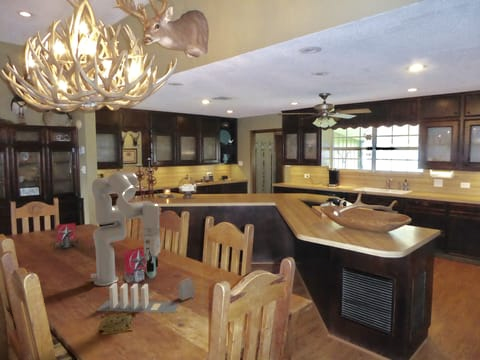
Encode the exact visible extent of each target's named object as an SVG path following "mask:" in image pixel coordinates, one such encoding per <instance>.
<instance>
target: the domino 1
mask: <svg viewBox="0 0 480 360" xmlns="http://www.w3.org/2000/svg"><path fill="white" fill-rule="evenodd" d="M108 290H109V291H108V292H109V295H108V296H109V301H110V308H114V307H115V306H116V305H117V304H118V301H119V295H118V292H119V291H118V283H117V282H116V283H114V284H111V285H109V287H108Z"/></svg>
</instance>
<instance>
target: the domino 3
mask: <svg viewBox="0 0 480 360" xmlns="http://www.w3.org/2000/svg"><path fill="white" fill-rule="evenodd" d="M138 285H139V283H133V285H132V286H130V291H129V292H130V301H131V309H135V308H136V307H137V305H138V302H139V286H138Z"/></svg>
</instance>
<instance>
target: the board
mask: <svg viewBox="0 0 480 360" xmlns="http://www.w3.org/2000/svg"><path fill="white" fill-rule="evenodd" d="M179 304H180V302H168V301H149V305H148V306H147V307H146V309H142V302H141V301H138V305H137V307H136V308H135V309H131V300H128V305H127V306H126V307H125V308H124V309H121V307H120V300H118V304H117V305H116V306H115V307H114V308H110V300H106V301H105V302H104V303H103V304H102V305H101V306H100V307H99V308H98V309H96V312H122V313H123V312H126V313H165V314H166V313H167V314H172V313H173V314H175V312H176V310H177V308H178V307H179Z"/></svg>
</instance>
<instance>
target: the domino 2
mask: <svg viewBox="0 0 480 360" xmlns="http://www.w3.org/2000/svg"><path fill="white" fill-rule="evenodd" d="M128 287H129V286H128V283H125V282H124V283H123V284H122V285H121V286H120V287H119V301H120V307H121V309H124V308H125V307H126V306H127V305H128V301H129V288H128Z"/></svg>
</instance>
